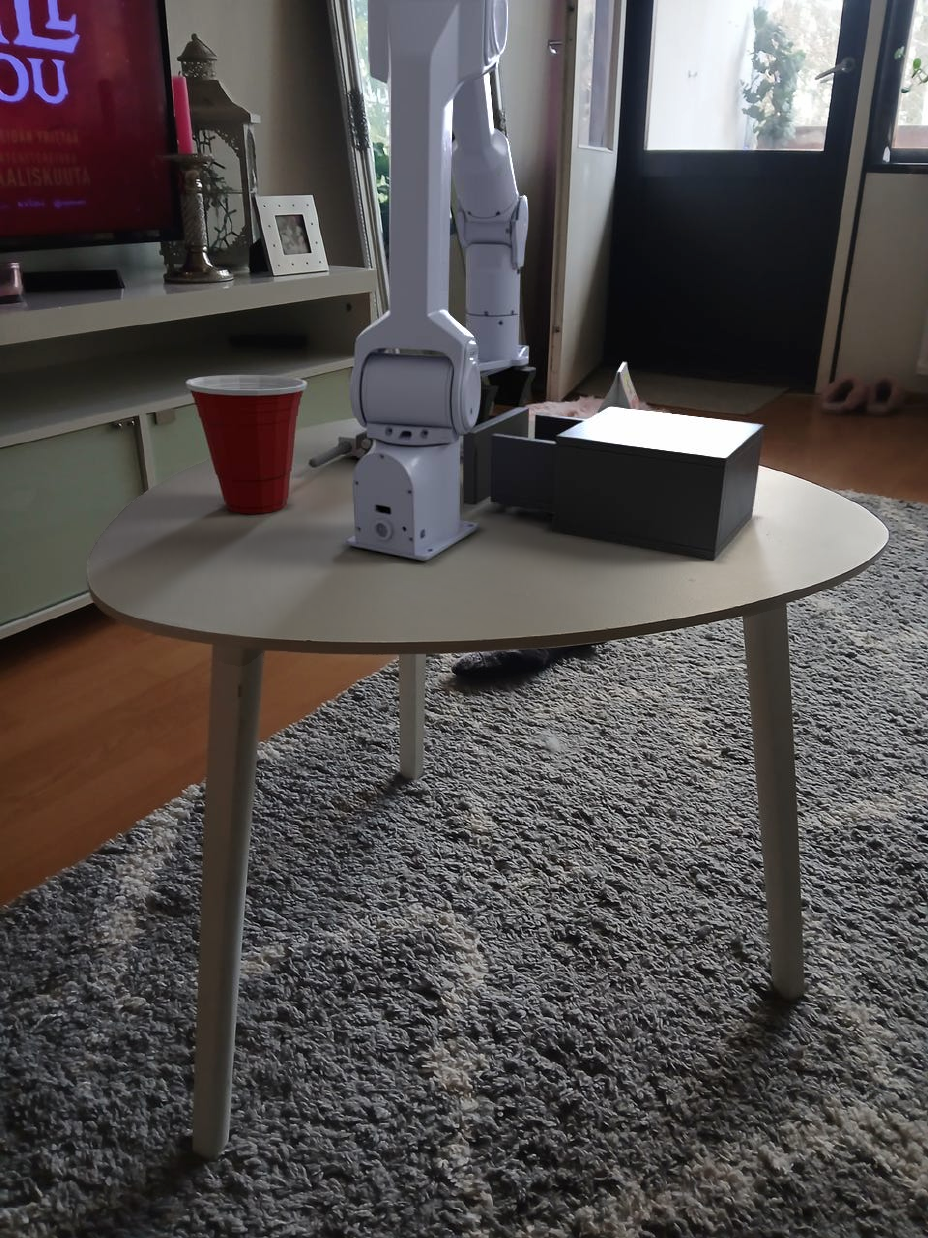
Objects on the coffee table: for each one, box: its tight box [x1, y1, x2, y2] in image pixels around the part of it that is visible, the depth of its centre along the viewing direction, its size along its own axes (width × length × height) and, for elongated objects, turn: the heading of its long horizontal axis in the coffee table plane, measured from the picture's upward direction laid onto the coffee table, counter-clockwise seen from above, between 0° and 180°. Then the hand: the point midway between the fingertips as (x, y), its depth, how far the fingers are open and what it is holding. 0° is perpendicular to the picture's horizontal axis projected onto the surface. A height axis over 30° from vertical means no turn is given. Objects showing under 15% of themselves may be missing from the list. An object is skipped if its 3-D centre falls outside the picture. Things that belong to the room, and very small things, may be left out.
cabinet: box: [551, 407, 765, 561], centre depth 86 cm, size 15×13×9 cm
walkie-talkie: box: [308, 427, 374, 469], centre depth 107 cm, size 9×4×20 cm
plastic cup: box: [185, 374, 308, 515], centre depth 90 cm, size 11×11×12 cm
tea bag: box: [597, 361, 639, 414], centre depth 105 cm, size 4×7×10 cm, turn 166°
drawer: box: [460, 406, 588, 514], centre depth 91 cm, size 18×11×7 cm, turn 61°
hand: (490, 438), depth 109 cm, fingers open, 7 cm apart
